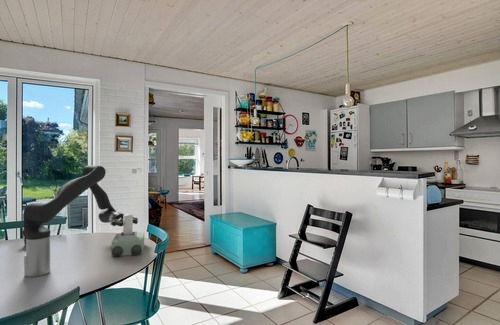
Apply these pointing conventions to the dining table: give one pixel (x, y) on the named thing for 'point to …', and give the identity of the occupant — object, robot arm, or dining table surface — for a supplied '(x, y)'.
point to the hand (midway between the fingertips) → (129, 223)
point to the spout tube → (127, 224)
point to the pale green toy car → (128, 244)
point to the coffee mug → (24, 237)
